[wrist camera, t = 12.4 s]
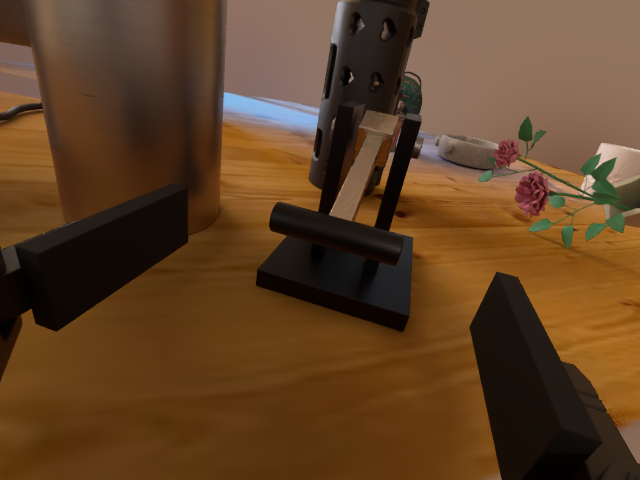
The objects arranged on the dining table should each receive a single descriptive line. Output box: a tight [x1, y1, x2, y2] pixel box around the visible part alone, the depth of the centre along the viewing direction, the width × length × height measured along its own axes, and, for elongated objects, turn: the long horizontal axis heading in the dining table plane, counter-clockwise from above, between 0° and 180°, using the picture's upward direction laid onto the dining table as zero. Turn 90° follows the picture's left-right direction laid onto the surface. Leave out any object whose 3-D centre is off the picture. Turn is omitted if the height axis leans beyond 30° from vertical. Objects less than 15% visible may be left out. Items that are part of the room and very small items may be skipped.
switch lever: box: [269, 110, 405, 266], centre depth 19 cm, size 12×6×2 cm, turn 164°
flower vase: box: [478, 117, 640, 249], centre depth 40 cm, size 12×12×35 cm
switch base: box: [256, 101, 424, 332], centre depth 24 cm, size 12×10×12 cm
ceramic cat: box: [374, 72, 422, 129], centre depth 104 cm, size 20×6×20 cm, turn 106°
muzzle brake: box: [309, 0, 429, 196], centre depth 40 cm, size 10×28×10 cm
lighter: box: [390, 101, 405, 152], centre depth 74 cm, size 8×3×10 cm, turn 179°
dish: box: [435, 134, 499, 169], centre depth 76 cm, size 14×14×5 cm
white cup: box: [578, 143, 640, 198], centre depth 65 cm, size 8×8×10 cm
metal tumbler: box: [22, 0, 227, 234], centre depth 25 cm, size 12×12×20 cm
